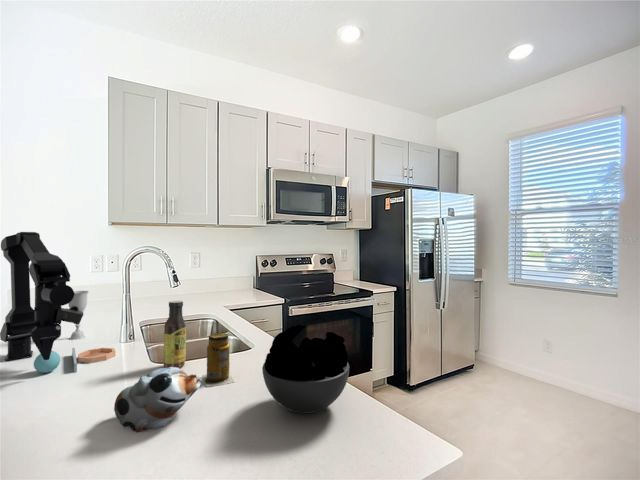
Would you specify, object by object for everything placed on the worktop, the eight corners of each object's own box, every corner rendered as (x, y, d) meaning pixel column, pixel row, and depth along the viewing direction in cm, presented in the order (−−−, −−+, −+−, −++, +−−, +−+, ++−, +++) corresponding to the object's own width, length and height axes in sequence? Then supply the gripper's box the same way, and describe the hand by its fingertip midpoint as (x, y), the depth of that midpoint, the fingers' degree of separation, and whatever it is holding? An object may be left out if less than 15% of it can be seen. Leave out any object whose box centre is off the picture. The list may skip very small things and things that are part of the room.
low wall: (72, 355, 110) (72, 347, 110) (74, 355, 111) (74, 347, 111) (74, 372, 96) (74, 363, 96) (76, 371, 96) (76, 363, 97)
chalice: (62, 338, 129) (62, 292, 129) (80, 334, 135) (80, 290, 135) (74, 341, 126) (74, 293, 126) (92, 336, 132) (92, 291, 132)
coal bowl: (250, 399, 80) (251, 322, 80) (322, 382, 90) (322, 313, 90) (282, 443, 63) (283, 344, 63) (367, 416, 73) (367, 331, 73)
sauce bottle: (177, 371, 97) (177, 304, 97) (158, 369, 98) (158, 303, 99) (190, 363, 104) (190, 300, 104) (172, 361, 105) (172, 299, 105)
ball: (34, 371, 97) (34, 350, 97) (60, 366, 100) (60, 346, 100) (32, 378, 92) (33, 356, 92) (60, 372, 96) (60, 352, 96)
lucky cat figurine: (177, 395, 82) (201, 349, 80) (187, 437, 73) (214, 385, 71) (109, 396, 72) (134, 343, 70) (110, 443, 63) (139, 384, 61)
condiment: (228, 371, 97) (228, 330, 98) (234, 382, 90) (234, 338, 90) (202, 375, 94) (202, 333, 94) (206, 387, 87) (206, 342, 87)
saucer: (77, 356, 109) (77, 351, 109) (112, 350, 116) (112, 345, 116) (78, 365, 102) (78, 360, 102) (116, 358, 108) (116, 353, 108)
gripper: (83, 303, 94) (82, 358, 94) (80, 294, 109) (79, 342, 109) (31, 308, 87) (31, 367, 87) (35, 298, 102) (35, 349, 102)
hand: (47, 355), depth 96 cm, fingers open, 9 cm apart
